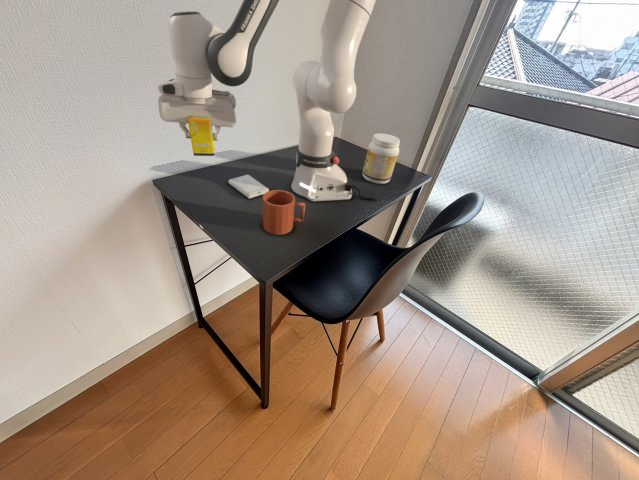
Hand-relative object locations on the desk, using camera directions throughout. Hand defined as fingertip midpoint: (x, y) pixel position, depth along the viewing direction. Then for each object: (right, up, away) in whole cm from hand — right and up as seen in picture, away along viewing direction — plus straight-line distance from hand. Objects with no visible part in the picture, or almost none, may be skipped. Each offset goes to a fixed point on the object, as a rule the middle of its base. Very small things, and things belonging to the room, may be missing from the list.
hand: (202, 139), depth 82 cm
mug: (+25, -27, -2) cm, 36 cm away
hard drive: (+11, -13, +13) cm, 21 cm away
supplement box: (-1, -3, +3) cm, 4 cm away
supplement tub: (+59, -5, +32) cm, 68 cm away
